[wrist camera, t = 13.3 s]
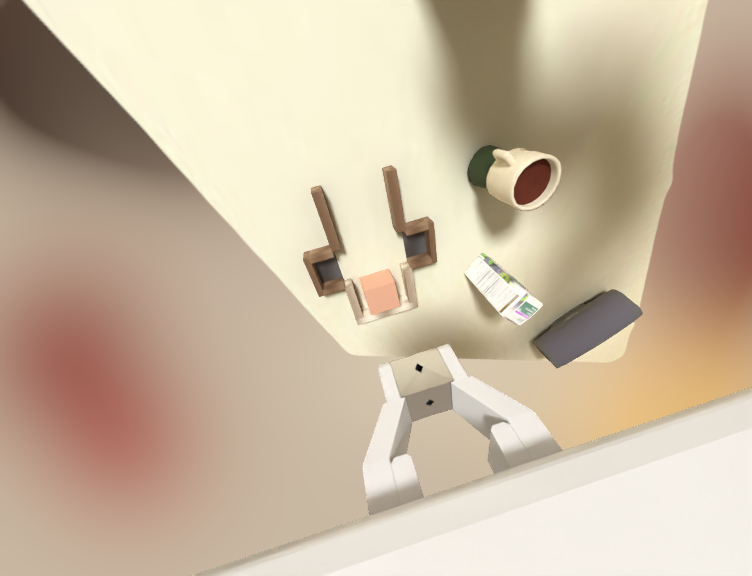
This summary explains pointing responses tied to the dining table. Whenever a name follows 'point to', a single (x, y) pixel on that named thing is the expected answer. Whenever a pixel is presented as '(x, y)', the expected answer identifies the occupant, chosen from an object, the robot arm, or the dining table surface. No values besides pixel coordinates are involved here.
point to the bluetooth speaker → (587, 327)
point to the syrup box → (502, 290)
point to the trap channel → (417, 253)
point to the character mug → (516, 175)
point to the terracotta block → (380, 291)
